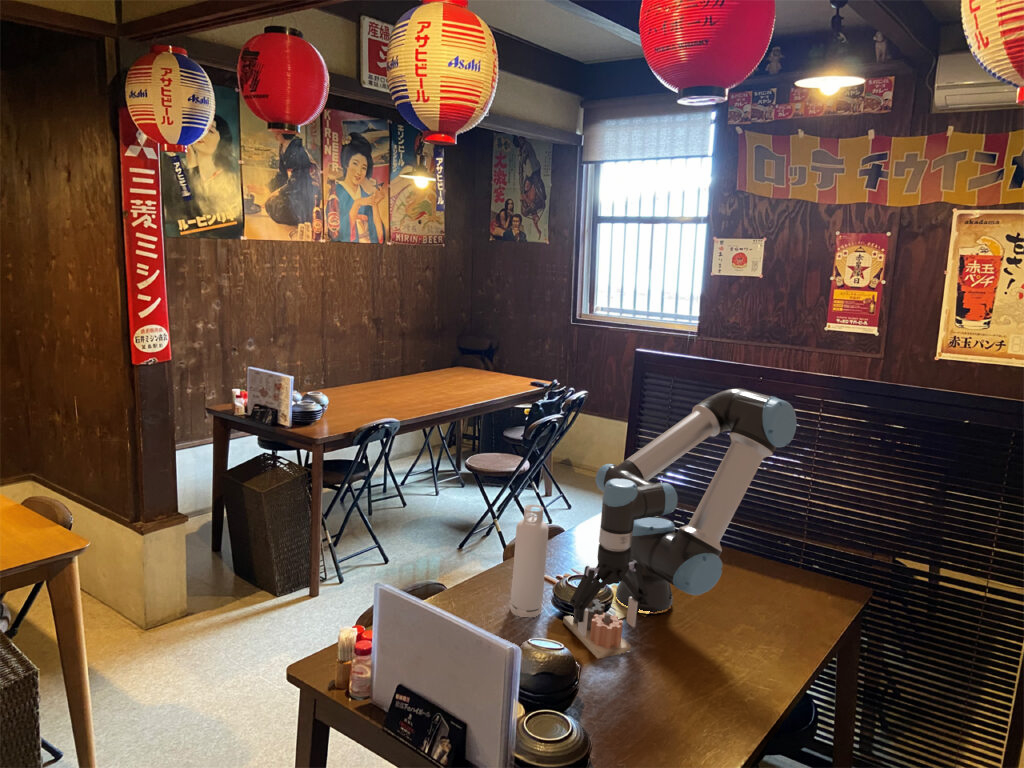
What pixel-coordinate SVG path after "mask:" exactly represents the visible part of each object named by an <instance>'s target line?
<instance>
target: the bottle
mask: <svg viewBox="0 0 1024 768" xmlns="http://www.w3.org/2000/svg"><path fill="white" fill-rule="evenodd" d="M532 508H539V509H540V510H538V511H537V510H536V511H535V510H532ZM523 512H524V513H523V518H522V519H521V520H520V521H518V523H517V524H516V526H515V527H516V529H515V541H514V542H515V544H514V558H513V566H512V567H513V570H512V581H511V584H512V585H511V596H510V608H509V609H511V610H510V612H511V613H512V614H513V615H514V614H515V615H514V616H516V615H518V616H521V617H520V618H522V617H534V618H537V617H539V616H540V615H541V614H542V612H541V611H543V605H542V604H543V598H544V587H545V586H544V585H545V572H546V564H547V553H548V552H547V550H548V542H549V541H548V539H549V529H550V528H549V525H548V524H547V522H545V521H544V507H543V506H541V505H539V504H532V503H531V504H527V505H525V506H524V511H523ZM539 614H540V615H539ZM538 615H539V616H538ZM518 616H517V617H518ZM536 616H537V617H536Z"/></svg>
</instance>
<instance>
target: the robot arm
mask: <svg viewBox="0 0 1024 768" xmlns="http://www.w3.org/2000/svg"><path fill="white" fill-rule="evenodd" d="M797 422H798V421H797V414H796V410H795V409H794V406H792V404H791V403H789V402H788V401H786V400H783V399H780V398H778V397H777V396H773V395H772V396H771V395H767V394H762V393H759V392H756V391H752V390H749V389H745V388H739V387H738V388H737V387H736V388H730V389H726V390H723V391H720V392H717V393H716V394H715V393H714V394H713V395H711V396H709V397H707V398H705V399H703V400H702V401H700V402H699V403H697V404H695V406H693V407H692V410H691V413H690V414H688V415H687V416H685V417H684V418H682V419H681V420H680V421H679V422H677V423H676V424H675V425H673V426H671V427H670V428H669V429H667V430H666V431H665V432H663V433H661V434H660V435H658V436H656V438H654V439H653V440H652V441H650V442H649V443H647V444H646V445H645V446H643V447H642V448H641V449H639V450H637V451H636V452H635V453H634V454H632V455H631V456H629V457H628V458H627V459H624V460H623V461H622V462H620V463H619V464H618V465H617V464H613V463H606V464H604V465H602V466H601V467H600V468H599V469H598V470H597V472H596V475H595V484H596V487H597V488H598V490H599V491H601V492H603V493H602V494H603V495H602V500H601V501H602V503H601V505H602V506H601V518H600V526H599V527H600V529H599V537H598V543H599V544H598V548H597V565H596V567H590V566H589V565H586V566H585V567H584V572H583V576H582V577H581V580H580V581H579V583H578V585H577V587H576V589H575V590H574V592H573V594H572V597H571V598H570V599H569V604H570V606H571V607H573V609H574V608H575V609H577V613H576V619H577V620H578V631H579V633H580V634H581V635H582V636H586V631H587V620H588V609H587V606H588V605H589V604H590V603H591V601H592V600H595V597H597V595H598V594H599V592H600V591H601V590H602V589H604V588H606V586H610V585H612V584H616V585H617V587H616V591H615V598H616V597H617V599H618V600H619V601H620V602H621V603H623V604H624V605H626V606H628V609H627V613H626V623H628V625H630V626H631V627H632V628H635V627H636V624H637V623H636V622H637V614H638V613H637V612H638V611H639V609H640V610H643V611H650V612H657V611H662V610H665V609H668V608H669V607H670V606H671V605H672V606H673V601H674V599H673V597H674V596H673V591H672V587H671V585H672V586H674V587H675V588H676V589H678V590H679V591H682V592H684V593H686V594H688V595H690V596H701V595H703V594H704V593H707V592H709V591H710V590H712V589H713V588H714V587H715V586H716V585H717V583H718V582H719V580H720V578H721V575H722V573H723V569H722V568H723V561H722V560H721V558H720V555H721V554H722V551H723V548H722V546H721V543H720V542H721V540H722V538H723V536H724V534H725V532H726V530H727V528H728V527H729V524H730V523H731V522H732V519H733V517H734V515H735V514H736V511H737V509H738V507H739V506H740V504H741V502H742V500H743V498H744V496H745V495H746V492H747V490H748V488H749V487H750V485H751V483H752V481H753V480H754V477H755V475H756V473H757V472H758V469H759V467H760V465H761V464H762V462H763V460H764V459H765V458H767V457H771V456H773V454H774V453H775V451H776V448H784V447H786V446H787V445H789V444H790V443H791V441H792V440H793V438H794V436H795V435H796V432H797V431H796V430H797ZM728 431H729V438H730V440H731V442H730V445H729V447H728V448H727V451H726V452H725V455H724V456H723V458H722V461H720V464H719V466H718V468H717V470H716V472H715V474H714V475H713V477H712V479H711V481H710V483H709V485H708V486H707V488H706V490H705V492H704V494H703V496H702V498H701V500H700V502H699V503H698V506H697V507H696V510H695V511H694V513H693V514H692V517H691V518H690V521H689V523H688V524H686V525H683V526H680V527H679V528H678V530H677V532H676V533H675V531H676V525H675V523H674V522H673V521H671V520H670V519H666V518H661V517H663V516H664V515H668V514H671V513H672V512H674V511H675V510H676V509H677V505H678V493H677V491H676V489H675V488H674V486H673V485H672V484H671V483H669V482H656V483H655V482H654V483H653V482H651V481H650V480H651V479H653V478H654V477H655V476H656V475H658V474H659V473H660V472H662V471H663V470H664V469H666V468H668V467H669V466H670V465H671V464H673V463H674V462H675V461H677V460H678V459H680V458H681V457H683V456H684V455H685V454H686V453H688V452H690V450H692V449H694V448H695V447H696V446H698V445H699V444H700V443H702V442H703V441H705V440H706V439H708V438H709V437H717V436H718V435H720V434H721V433H723V432H728ZM600 580H601V581H600ZM582 603H583V604H582Z"/></svg>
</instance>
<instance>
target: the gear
mask: <svg viewBox="0 0 1024 768" xmlns="http://www.w3.org/2000/svg"><path fill="white" fill-rule="evenodd" d="M606 613H607V612H604V613H603V615H598V614H595V615H594V618H593V619H592V622H591V632H590V640H594V641H595V642H594V644H595V645H597V646H599V645H603V646H605V648H610V646H615V647H617V646H619V643H620V642H621V637H622V635H623V626H624V625H623V624H624V622H623V619H619V615H615V614H613V615H611V617H610V624H607V623H604V617H605V614H606Z"/></svg>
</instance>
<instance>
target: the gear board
mask: <svg viewBox="0 0 1024 768" xmlns="http://www.w3.org/2000/svg"><path fill="white" fill-rule="evenodd" d="M582 604H583V603H582ZM592 606H593V607H592ZM605 608H606V606H605V603H601V600H600V599H598V598H595V599H593V600H592V601H591V603H590V604H589V605H588V606H587V609H588V620H587V631H586V636H582V635H581V634H580V633H579V631H578V620H577V619H576V613H577V609H575V608H574V607H573V615H574V617H573V616H571V615H565V616H563V620H562V621H563V624H564V625H565V626H566V627H567V628H568V629H569V630H570V631H571V632H572V633H573V635H575V636H576V638H577V639H578V640H579V641H580V642H581V643H582V644H583V645H584V646H585V647H586V648H587V650H589V652H591V654H593V655H594V657H596V658H597V659H603V658H608V657H612V656H617V654H618V655H622V654H621V653H623V654H626V653H625V652H627V651H632V646H631V644H630V643H628V641H626V640H625V639H624V638H623V637H622V636H621V642H620V643H619V646H617V647H615V646H610V648H605V646H603V645H599V646H597V645H595V644H594V642H595V641H594V640H590V632H591V622H592V619H593V618H594V615H595V614H598V615H603V613H606V614H605V617H604V623H607V624H610V617H611V616H612V615H611V614H610V613H608V612H605Z"/></svg>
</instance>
